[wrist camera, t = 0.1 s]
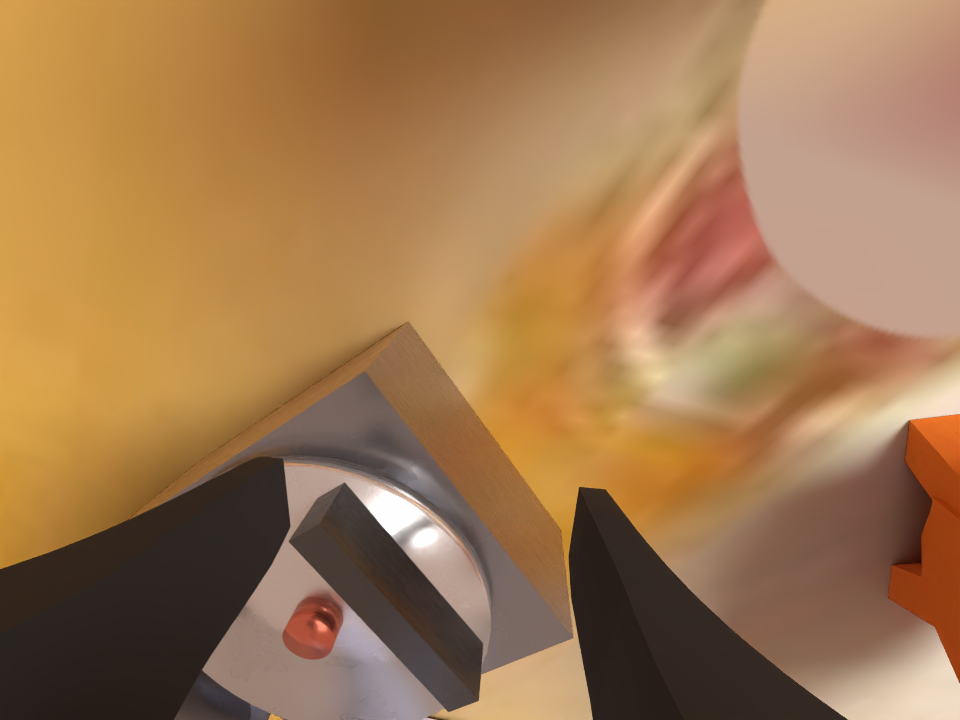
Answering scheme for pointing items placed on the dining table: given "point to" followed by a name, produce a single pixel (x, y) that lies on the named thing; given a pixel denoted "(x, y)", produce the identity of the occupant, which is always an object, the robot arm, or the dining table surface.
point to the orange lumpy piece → (935, 533)
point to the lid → (360, 605)
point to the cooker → (428, 470)
